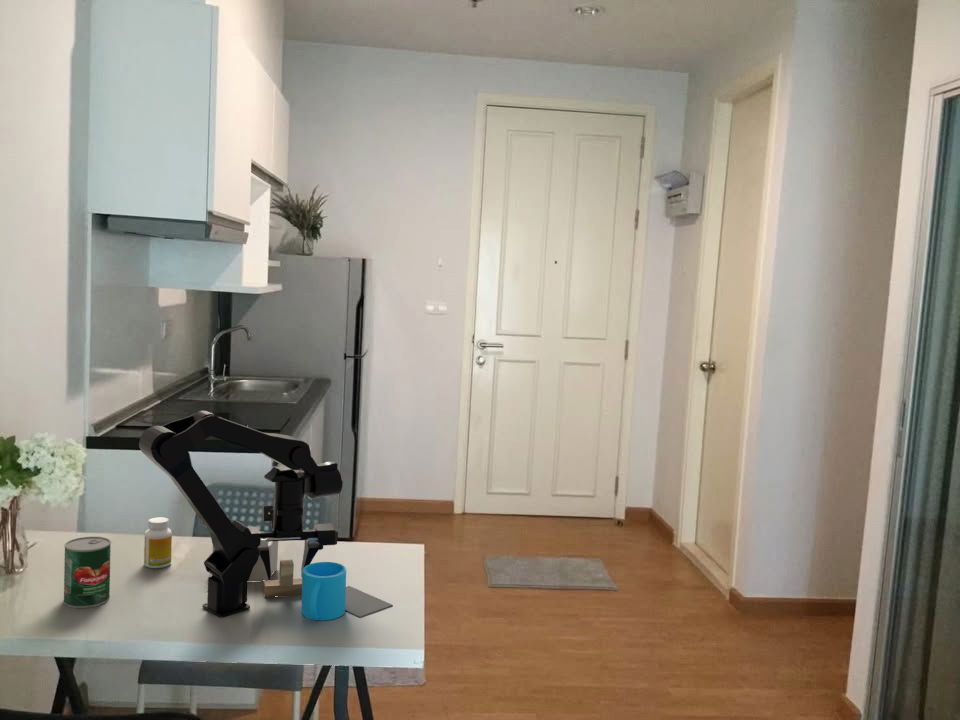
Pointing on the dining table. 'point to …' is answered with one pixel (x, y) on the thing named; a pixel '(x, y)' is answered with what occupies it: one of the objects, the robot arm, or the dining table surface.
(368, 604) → the charcoal mat
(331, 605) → the mug
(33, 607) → the dining table surface
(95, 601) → the canned tomato
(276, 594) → the wooden t-shaped block
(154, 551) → the supplement bottle
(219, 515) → the robot arm
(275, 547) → the lumpy-topped squat cylinder
